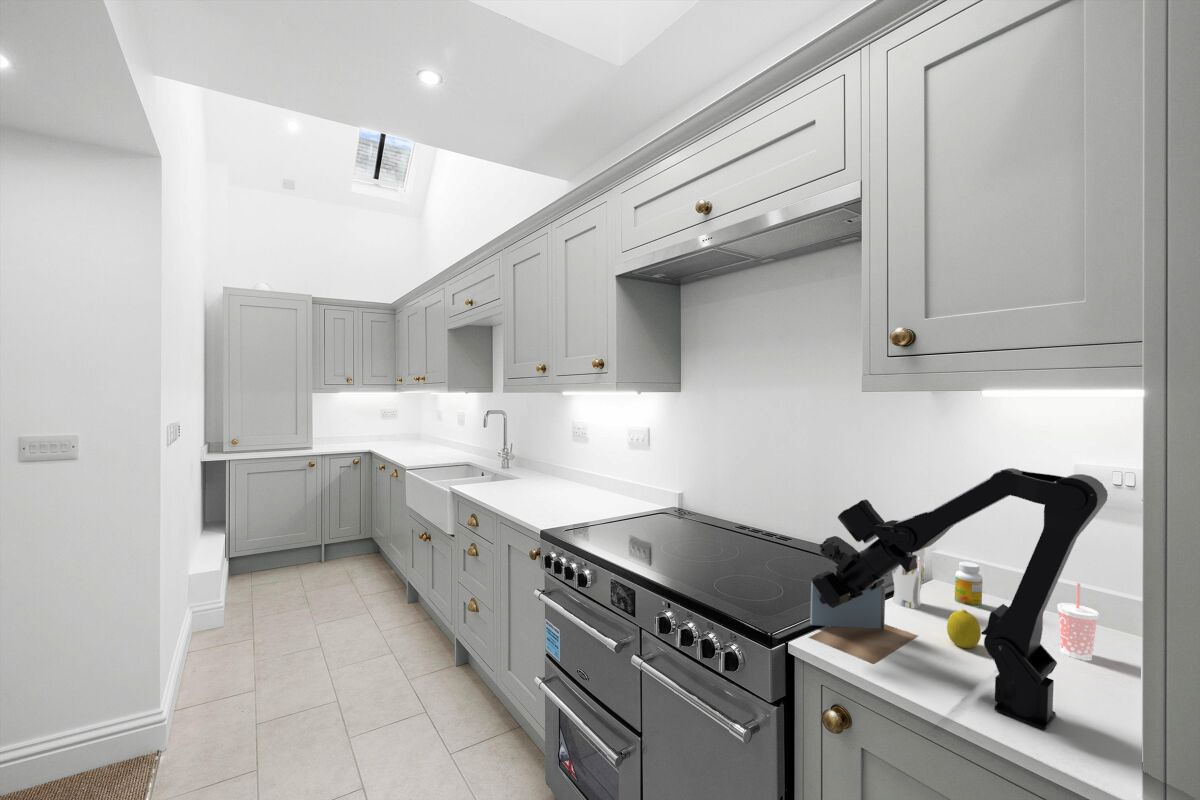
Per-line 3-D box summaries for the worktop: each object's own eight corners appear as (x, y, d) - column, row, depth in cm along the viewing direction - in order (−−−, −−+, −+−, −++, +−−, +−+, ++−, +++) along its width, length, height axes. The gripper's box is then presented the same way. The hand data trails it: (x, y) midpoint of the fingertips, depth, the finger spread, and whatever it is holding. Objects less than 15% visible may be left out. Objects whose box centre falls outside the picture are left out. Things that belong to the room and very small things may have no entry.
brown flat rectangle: (918, 640, 111) (918, 635, 111) (873, 669, 99) (873, 663, 99) (855, 618, 121) (855, 613, 121) (808, 642, 110) (808, 637, 109)
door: (885, 628, 113) (886, 586, 113) (811, 625, 114) (812, 582, 114) (880, 624, 115) (881, 582, 115) (808, 620, 117) (809, 579, 116)
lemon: (985, 658, 104) (987, 617, 104) (953, 655, 105) (954, 614, 105) (971, 644, 109) (973, 605, 109) (941, 641, 110) (942, 603, 110)
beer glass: (885, 600, 132) (886, 539, 131) (915, 602, 131) (917, 540, 130) (896, 612, 125) (898, 547, 124) (929, 614, 124) (931, 549, 123)
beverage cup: (1057, 643, 110) (1059, 575, 110) (1098, 654, 106) (1101, 584, 105) (1053, 654, 106) (1056, 583, 105) (1096, 666, 101) (1099, 592, 101)
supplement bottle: (949, 600, 132) (950, 560, 132) (969, 599, 133) (970, 560, 133) (966, 609, 127) (967, 568, 127) (987, 608, 128) (988, 567, 127)
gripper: (869, 520, 115) (820, 559, 124) (821, 534, 104) (771, 576, 112) (908, 566, 109) (854, 604, 118) (862, 586, 97) (806, 627, 106)
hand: (821, 601), depth 114 cm, fingers closed
